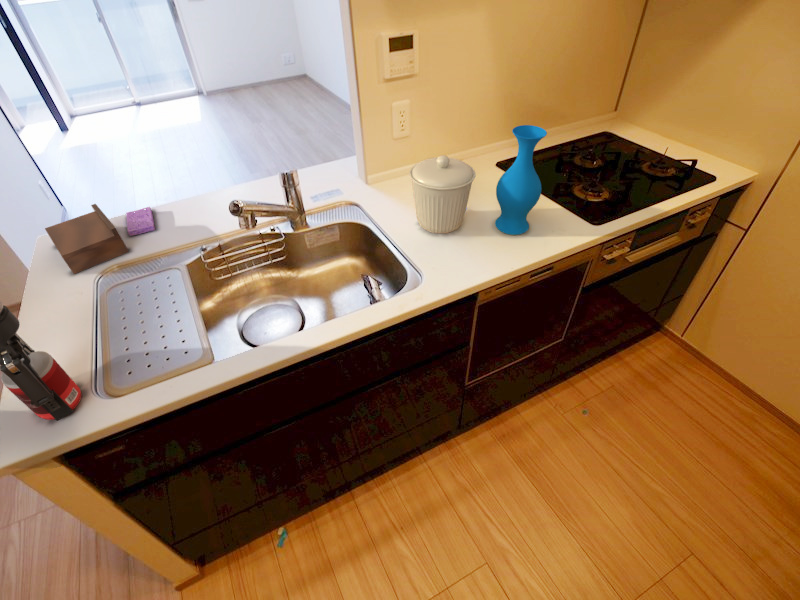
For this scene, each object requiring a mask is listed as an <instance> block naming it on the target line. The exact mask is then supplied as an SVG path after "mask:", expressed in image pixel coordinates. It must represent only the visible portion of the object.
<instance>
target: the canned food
mask: <svg viewBox="0 0 800 600" xmlns="http://www.w3.org/2000/svg"><path fill="white" fill-rule="evenodd" d="M28 356H29V358H30V359H31V361H30V365H31V366H32V367H33V369H34V370H35V371H36V372H37V374H38V375H39V377H40V378H41V379H42V380H43V381H44V382H45V384H46V385H47V386H48V387H49V389H50V390H52V389H53V390H54V391H55V392H56V393H57V394H58V395H59V396H60V397H61V399H62V400H63V401H64V402H65V403H66V404H67V405H68V406H69V407H70V408H71V409H72V410H73V411H74V409H75V408H76V407H77V406H78V405H79V403H80V402H81V400H82V392H81V391H82V390H81V388H80V387H79V385H78V384H77V383H76V382H75V381H74V379H72V378H71V376H69V373H67V372H66V371H65V370H64V369H63V367H62V366H61V365H60V364H59V363H58V362H57V360H56V359H55V358H54V357H52V355H51V354H50V353H48V352H46V351H40V350H38V351H35V352H31V353H30V355H28ZM23 360H24V358H22V359H21V361H23ZM0 380H1V383H2V384H3V386H4V387H5V388H7V389H8V390H9V392H11V393H12V394H13V395H14V396H15V397H16V398H17V399H18V400H19V401H21V402H22V403H23V404H24V405H25V406H26V407H27V408H28V409H29V410H30V411H32V412H33V413H34V414H35V415H36V416H37V417H39V418H40V419H43V420H47V421H51V420H56V419H55V418H54V417H53V416H52V415H51V414H49V413H48V412H47V411H46V410H45V409H44V408H43V407H42V406H39V407H37V406H35V405H31V400H30V399H29V398H28V397H27V396H26V395H25V393H24V392H23V391H22V390H21V389H20V388H19V387H18V386H17V385H16V384H15V383H14V382H13V381H12V380H11V379H10V378H9V377H8V376H7V375H6V374H5V373H3V372H2V373H1V375H0Z"/></svg>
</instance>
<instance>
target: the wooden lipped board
mask: <svg viewBox="0 0 800 600" xmlns="http://www.w3.org/2000/svg"><path fill="white" fill-rule="evenodd" d="M90 206H91V208H92V209H93V211H91V212H88V213H86V214H82V215H80V216H79V215H78V216H76V217H75V218H70V219H67V220H65V221H62V222H59V223H56V224H54V225H50V226H48V227H45V228H44V230H45V231H46V233H47V235H48V237H49V238H50V240H51V241H52V243H53V245H54V246H55V248H56V249H57V251H58V253H59V255H60V257H61V258H62V259H63V261H64V262H65V263H66V265H67V266H68V268H69V269H70V271H71V272H72V274H73V275H75V274H78V273H80V272H82V271H85V270H87V269H90V268H94V267H95V266H97V265H99V264H103V263H106V262H108V261H110V260H112V259H115V258H117V257H120V256H122V255H124V254H127V253H129V252H130V251H129V249H128V247H127V246H126V244H125V242H124V240H123V238H122V236H121V235H120V233H119V231H118V228H117V227H116V226H115V225H114V224H113V222H112V221H111V220H110V219H109V218H108V217H107V216H106V215H105V213H104V212H103V211H102V209H100V207H99V206H98V205H97V204H96V203H94V204H91V205H90Z"/></svg>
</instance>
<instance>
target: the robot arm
mask: <svg viewBox="0 0 800 600" xmlns="http://www.w3.org/2000/svg"><path fill="white" fill-rule="evenodd" d="M19 320H20V319H18V318H17V317H16V315H15V314H14V313H13V312H12V311H11V310H10V308H8V307H7V306H6V305H4V303H3V302H2V300H0V372H2V373H5V374H6V375H7V376H8V377H9V378H10V379H11V380H12V381H13V382H14V383H15V384H16V385H17V386H18V387H19V388H20V389H21V390H22V391H23V392H24V393H25V395H26V396H27V397H28V398H29V399H30V400H31V405H35V406H37V407H39V406H42V407H43V408H44V409H45V410H46V411H47V412H48V413H49V414H51V415H52V416H53V417H54V418H55V419H54V420H56V422H58V421H60V420H61V419H64V418H66V417H67V416H69V415H71V414H72V413H74V409H73V410H72V409H71V408H70V407H69V406H68V405H67V404H66V403H65V402H64V401H63V400H62V399H61V397H60V396H59V395H58V394H57V393H56V392H55V391H54V390H53V389H52V390H50V389H49V387H48V386H47V385H46V384H45V382H44V381H43V380H42V379H41V378H40V377H39V375H38V374H37V372H36V371H35V370H34V369H33V367H32V366H31V365H30V361H31V359H30V358H29V356H28V355H30V353H31V352H36V351H35V349H33V348H31V346H30V345H29V344H28V343H26V341H25V340H24V339H23V338H22V337H21V336H20V335H19V334H17V332H18V331H19V328H20V325H21V323H20V321H19ZM22 358H24V360H23V361H21V359H22Z"/></svg>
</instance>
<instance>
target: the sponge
mask: <svg viewBox="0 0 800 600" xmlns="http://www.w3.org/2000/svg"><path fill="white" fill-rule="evenodd" d="M144 209H146V210H144ZM134 212H135V213H134ZM126 214H127V215H126ZM125 215H126V229H127V233H128V235H129V237H131V236H136V235H140V234H145V233H148V232H153V231H155V230H156V228H155V221H154V216H153V211H152V208H151V206H147V207H143V208H140V209H137V210H132V211H128V212H125Z"/></svg>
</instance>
